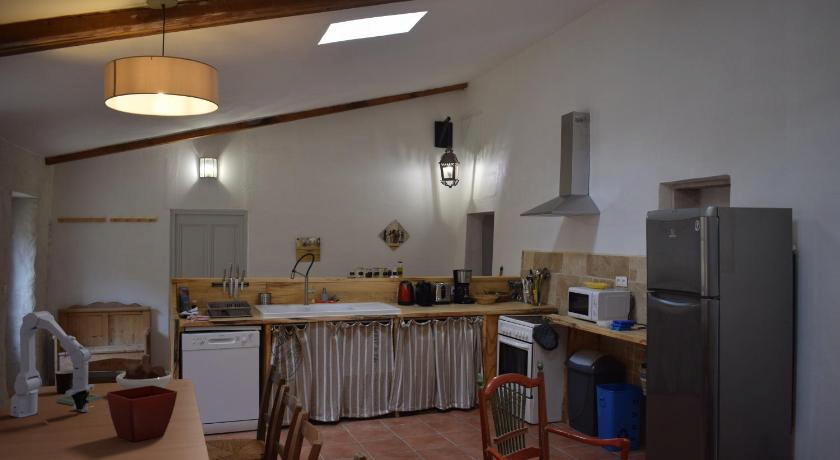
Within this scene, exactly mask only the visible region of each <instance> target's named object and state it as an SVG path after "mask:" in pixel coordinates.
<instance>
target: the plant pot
mask: <svg viewBox="0 0 840 460" xmlns="http://www.w3.org/2000/svg"><path fill="white" fill-rule="evenodd" d="M177 395H178V391H177V390H173V389H171V388H165V387H164V388H162V387H158V386H154V385H150V386H144V387H137V388H131V389H124V390H123V389H119V390H112V391H108V392H106V396H107V397H106V398H107V403H108V409H109V413H110V417H111V420H112V424H113V427H114V430H115V433H116V435H117V437H120V438H123V439H124V440H127V441H130V442H131V443H132V442H140V441H145V440H149V439H152V438H153V439H154V438H158V437H162V436H165V433H166V432H167V429H168V426H169V424H170V421H171V418H172V416H173V413H174V409H175V405H176V400H177Z"/></svg>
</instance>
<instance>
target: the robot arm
mask: <svg viewBox="0 0 840 460" xmlns="http://www.w3.org/2000/svg"><path fill="white" fill-rule="evenodd" d="M21 319H22V320H21V321H22V323H21V326H20V329H19V348H20V349H19V350H20V351H19V352H20V353H19V354H20V355H19V357H20V371H19V372H18V374H17V375H16V377H15V381H14V382H15V383H14V384H13V385H14V386H13V387H14V388H13V389H14V391H15V393H16V395H14V396H12V397H11V400H10V413H9V416H12V417H16V418H19V419H20V418H24V417H29V416H33V415H38V413H37V412H38V394H39V389H40V388H41V387H42V384H43V381H42V378H41V376H40V372H39V371H38V370H37V369H36V368H37V367H36V365H37V364H36V339H35V338H36V336H35V333H37V332H38V331H39V330H40V329H43V330H47V331H49V333H50V334H52V335H53V336H54V337H55V338H56V339H57V340H58V341H59V344H60V345H59V346H60V347H62V348H61V349H63V350H64V351H65V352H66V353H67V354H68V355H69V356H70V357H69V360H70V361H71V362H72V363H71V364H72V370H73V388H72V389H70V390H68V391H66V394H65V396H72V398H73V399H74V402H75V405H76V409H77V410H78V411H79V410H82V409H83V407H84V404H85V401H86V398H87V396H88V395H89V394H90V390H94V389H95V384H93V383H91V384H90V383H89V360H91V358H92V352H91V350H90V348H89V347H84V345H82V344H81V343H79V342H78V340H76V339H77V338H76V337H75V336H72V335H68V334H66V332H65V331H64V329H63V328H62V327H61V326H60V325H59V324H58V322H56V320H55V318H54V315H52V314H51V312H49V311H48V310H42V311H35V312H28V313H27V314H25V315H24V316H23V317H22V318H21Z"/></svg>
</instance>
